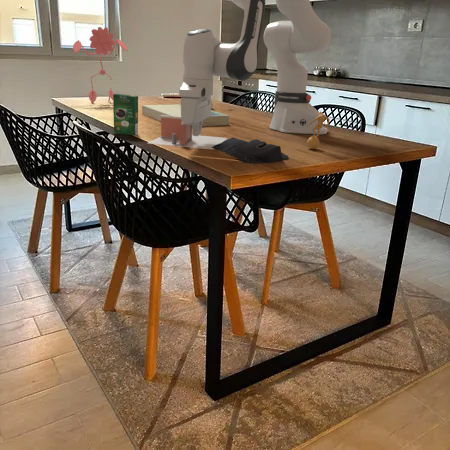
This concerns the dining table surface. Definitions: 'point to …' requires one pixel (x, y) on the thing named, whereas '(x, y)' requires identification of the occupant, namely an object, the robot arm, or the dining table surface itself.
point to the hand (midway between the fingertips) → (196, 135)
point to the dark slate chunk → (251, 151)
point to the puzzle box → (175, 110)
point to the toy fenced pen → (190, 141)
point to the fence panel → (184, 133)
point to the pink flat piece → (171, 126)
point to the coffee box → (125, 114)
